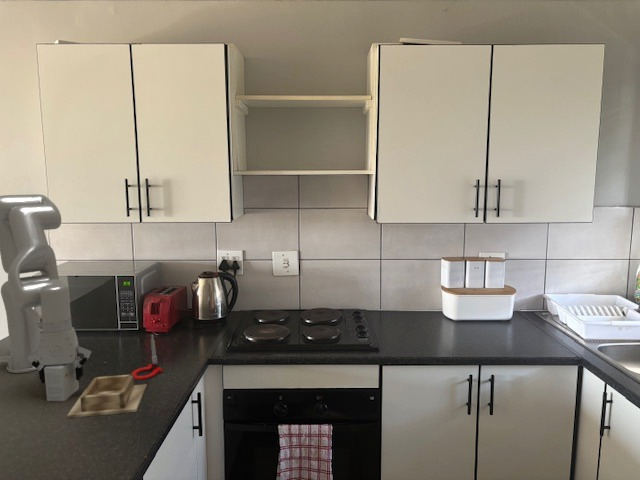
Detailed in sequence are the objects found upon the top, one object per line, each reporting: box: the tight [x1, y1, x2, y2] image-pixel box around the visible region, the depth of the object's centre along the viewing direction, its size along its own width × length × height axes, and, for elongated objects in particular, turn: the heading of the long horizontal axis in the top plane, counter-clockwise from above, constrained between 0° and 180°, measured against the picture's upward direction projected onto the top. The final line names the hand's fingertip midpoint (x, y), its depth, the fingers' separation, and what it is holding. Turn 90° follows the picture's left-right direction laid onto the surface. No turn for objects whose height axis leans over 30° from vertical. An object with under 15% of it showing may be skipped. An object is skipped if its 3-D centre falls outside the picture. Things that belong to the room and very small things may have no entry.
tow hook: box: [130, 333, 164, 381], centre depth 155 cm, size 8×13×9 cm
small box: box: [44, 363, 80, 402], centre depth 140 cm, size 8×6×10 cm
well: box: [66, 373, 147, 419], centre depth 136 cm, size 18×16×5 cm
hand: (62, 379), depth 140 cm, fingers open, 9 cm apart
